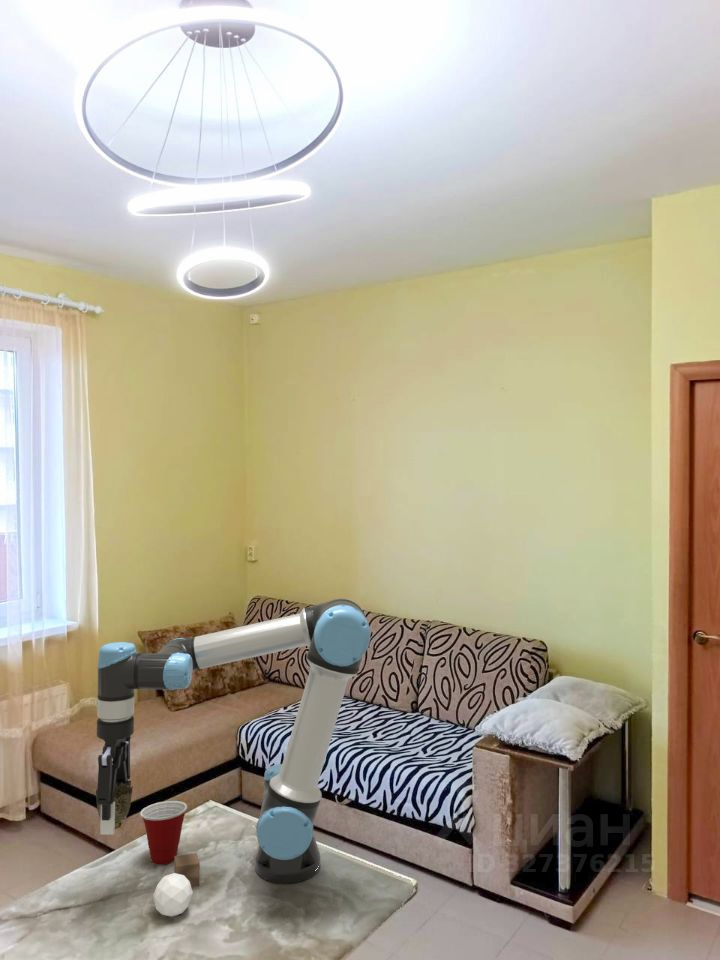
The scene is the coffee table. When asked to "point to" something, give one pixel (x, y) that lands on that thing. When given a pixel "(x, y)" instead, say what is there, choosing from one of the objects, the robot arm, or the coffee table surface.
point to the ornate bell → (120, 803)
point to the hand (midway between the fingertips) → (113, 825)
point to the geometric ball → (172, 894)
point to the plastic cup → (163, 829)
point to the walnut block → (188, 867)
